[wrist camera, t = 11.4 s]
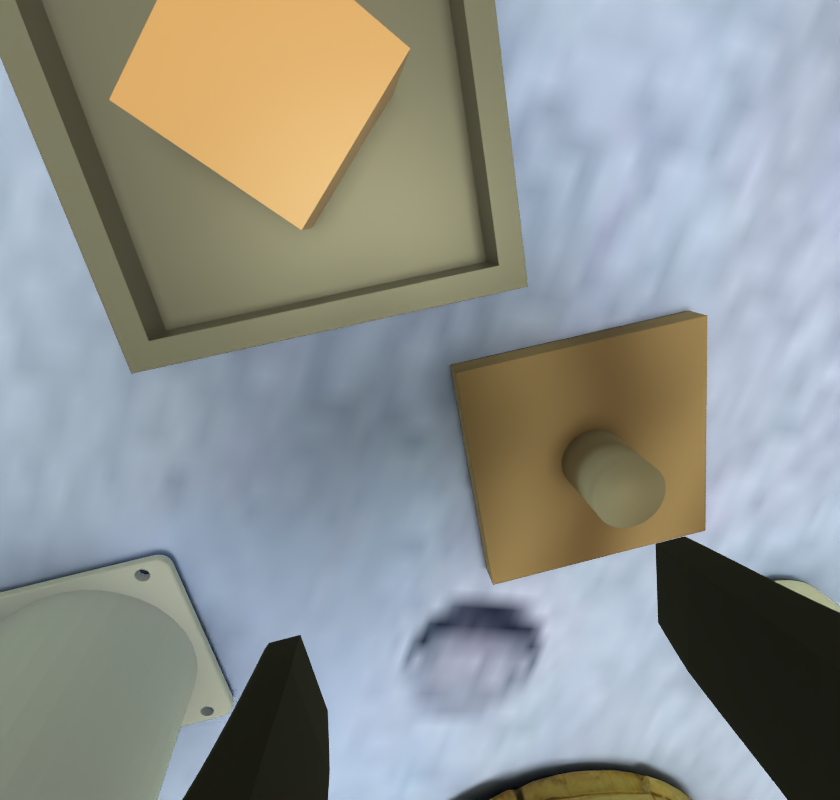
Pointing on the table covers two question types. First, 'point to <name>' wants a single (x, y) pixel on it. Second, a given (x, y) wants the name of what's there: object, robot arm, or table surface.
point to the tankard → (595, 787)
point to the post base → (566, 404)
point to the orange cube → (265, 91)
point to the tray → (250, 219)
